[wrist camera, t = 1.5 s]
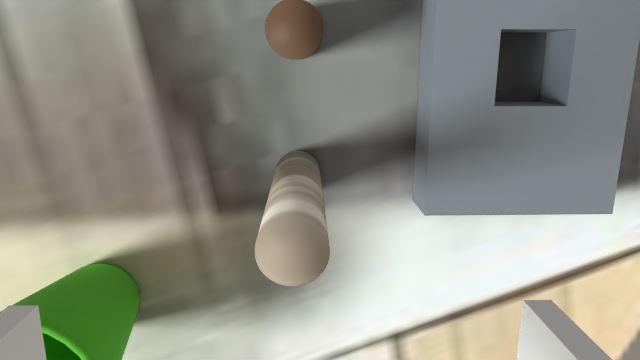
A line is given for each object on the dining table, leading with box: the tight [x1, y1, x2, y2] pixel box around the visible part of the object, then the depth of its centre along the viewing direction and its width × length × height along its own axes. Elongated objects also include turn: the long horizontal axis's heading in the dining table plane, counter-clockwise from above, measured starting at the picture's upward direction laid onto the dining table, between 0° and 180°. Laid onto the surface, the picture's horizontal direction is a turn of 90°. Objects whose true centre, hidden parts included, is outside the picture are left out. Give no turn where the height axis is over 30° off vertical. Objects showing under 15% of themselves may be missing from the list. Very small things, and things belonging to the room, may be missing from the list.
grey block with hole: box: [413, 0, 640, 215], centre depth 30 cm, size 18×12×4 cm, turn 0°
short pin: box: [265, 0, 323, 59], centre depth 28 cm, size 3×3×6 cm
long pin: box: [255, 151, 330, 286], centre depth 26 cm, size 3×3×14 cm
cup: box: [0, 264, 140, 360], centre depth 29 cm, size 9×9×11 cm
